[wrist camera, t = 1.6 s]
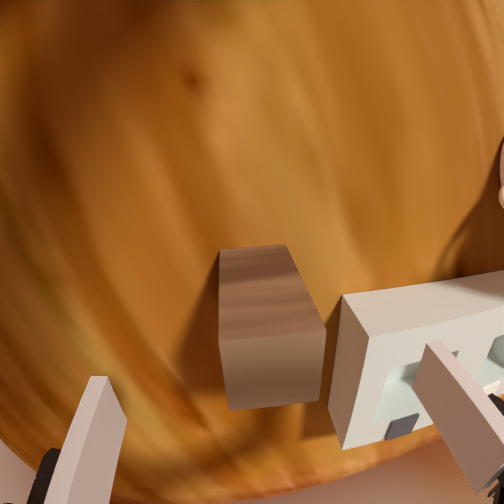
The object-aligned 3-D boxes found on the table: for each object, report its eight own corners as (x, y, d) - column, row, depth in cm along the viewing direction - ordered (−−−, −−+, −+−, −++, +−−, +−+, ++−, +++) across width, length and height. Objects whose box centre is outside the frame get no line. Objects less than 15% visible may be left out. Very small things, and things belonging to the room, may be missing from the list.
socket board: (342, 294, 22) (371, 340, 17) (521, 266, 23) (556, 290, 18) (327, 407, 26) (342, 452, 21) (488, 362, 27) (512, 390, 22)
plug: (219, 249, 20) (218, 341, 11) (285, 244, 20) (326, 330, 12) (225, 305, 21) (228, 410, 13) (285, 300, 21) (318, 400, 13)
